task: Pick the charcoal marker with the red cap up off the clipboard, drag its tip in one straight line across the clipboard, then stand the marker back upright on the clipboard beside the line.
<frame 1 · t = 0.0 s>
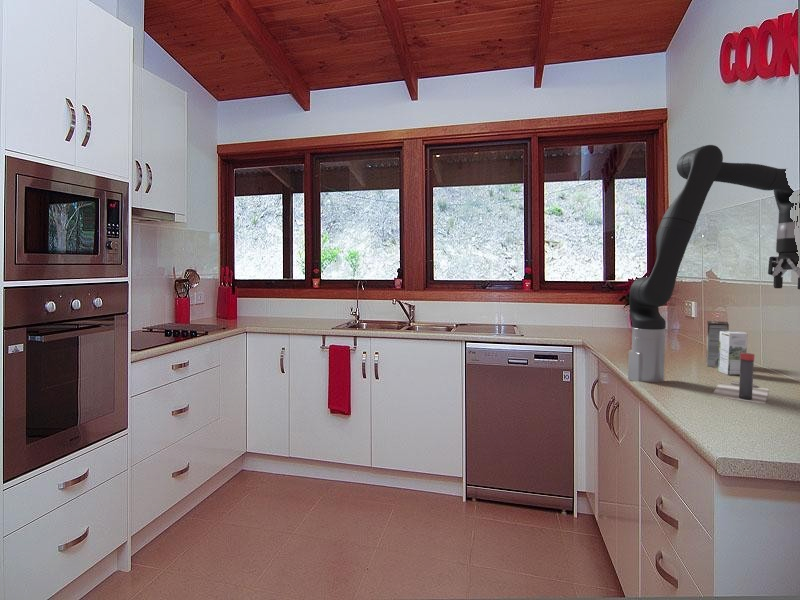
hand: (789, 288, 143), 29 cm above the countertop, tool pointing down, fingers open, 8 cm apart
coffee box: (716, 365, 168), on the countertop
marker: (745, 398, 121), point 1 cm above the countertop, touching clipboard
clipboard: (740, 395, 127), on the countertop
syrup box: (731, 374, 154), on the countertop
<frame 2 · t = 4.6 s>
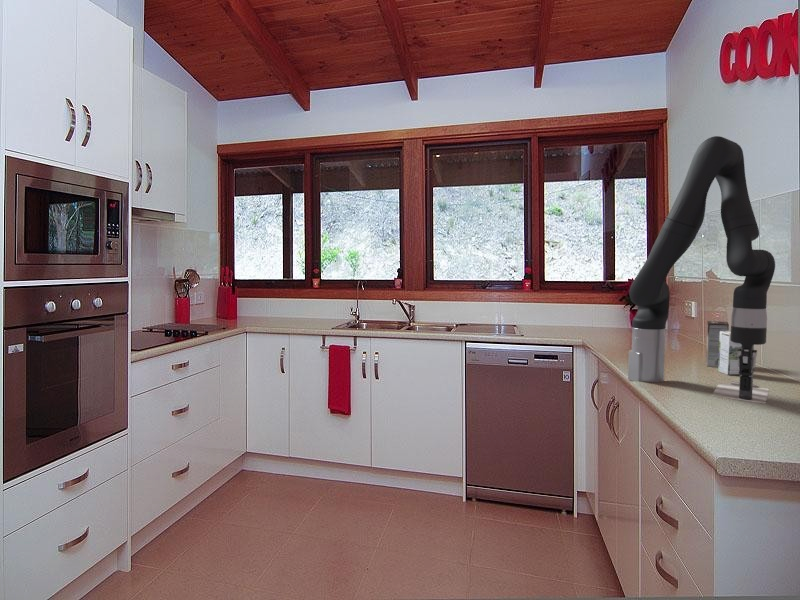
hand: (745, 389, 121), 4 cm above the countertop, tool pointing down, fingers closed on marker, 2 cm apart
marker: (745, 398, 121), point 1 cm above the countertop, touching clipboard, gripper
everything else where it was.
when the fingers open (4 cm above the countertop, at t = 12.7 s): marker stays where it is, resting on clipboard.
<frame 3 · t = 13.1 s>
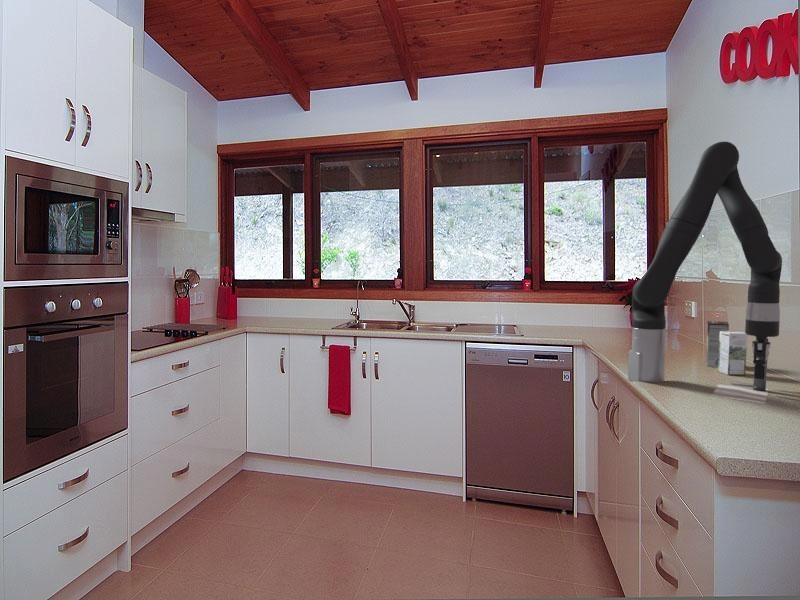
hand: (759, 376, 129), 5 cm above the countertop, tool pointing down, fingers open, 7 cm apart
marker: (759, 390, 129), point 1 cm above the countertop, touching clipboard
everything else where it was.
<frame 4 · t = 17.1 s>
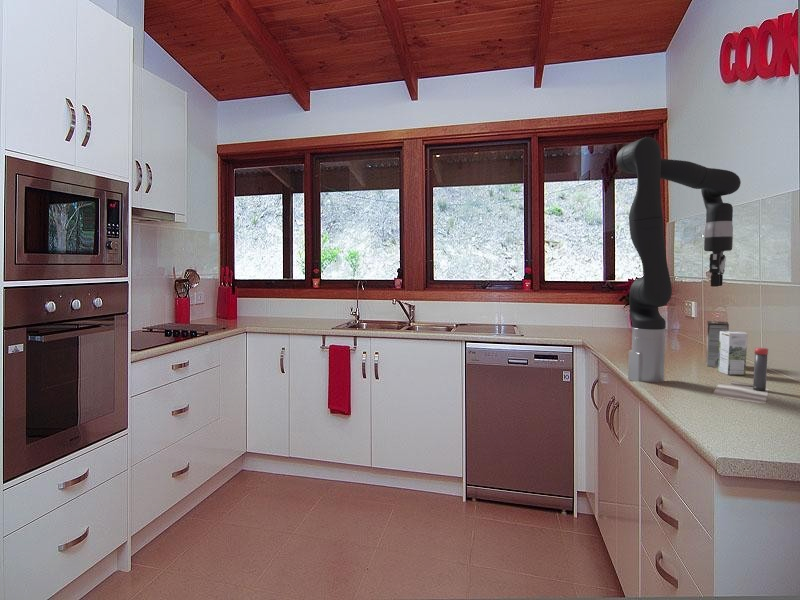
hand: (716, 286, 147), 30 cm above the countertop, tool pointing down, fingers open, 8 cm apart
nothing on the countertop moved.
at the end: marker 0.1 cm from the target spot on the clipboard, point 1.0 cm above the clipboard's base; marker tilted 0°; the gripper is holding nothing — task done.
